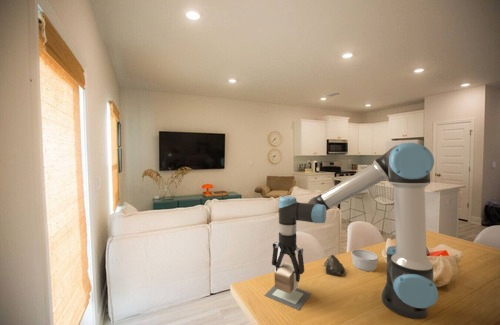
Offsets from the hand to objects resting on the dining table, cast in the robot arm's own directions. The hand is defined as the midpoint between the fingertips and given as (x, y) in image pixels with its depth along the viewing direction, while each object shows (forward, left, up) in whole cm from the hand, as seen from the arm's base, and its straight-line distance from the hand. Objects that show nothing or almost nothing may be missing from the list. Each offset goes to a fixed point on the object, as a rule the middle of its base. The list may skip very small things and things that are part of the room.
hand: (287, 284), depth 96 cm
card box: (0, 0, 0) cm, 0 cm away
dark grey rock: (-12, -31, -5) cm, 34 cm away
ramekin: (-23, -47, -5) cm, 53 cm away
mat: (0, 0, -5) cm, 5 cm away
